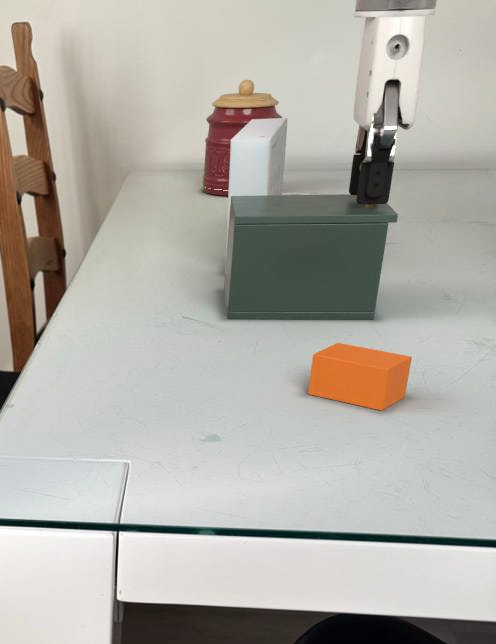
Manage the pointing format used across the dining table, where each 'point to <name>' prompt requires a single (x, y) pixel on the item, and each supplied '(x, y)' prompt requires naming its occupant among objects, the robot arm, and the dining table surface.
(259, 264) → the bin
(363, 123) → the robot arm
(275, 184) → the skincare box
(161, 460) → the dining table surface
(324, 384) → the orange block
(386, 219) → the bin lid
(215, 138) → the kitchen canister
